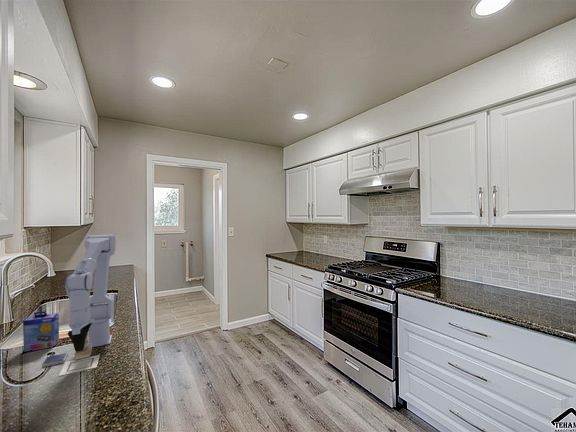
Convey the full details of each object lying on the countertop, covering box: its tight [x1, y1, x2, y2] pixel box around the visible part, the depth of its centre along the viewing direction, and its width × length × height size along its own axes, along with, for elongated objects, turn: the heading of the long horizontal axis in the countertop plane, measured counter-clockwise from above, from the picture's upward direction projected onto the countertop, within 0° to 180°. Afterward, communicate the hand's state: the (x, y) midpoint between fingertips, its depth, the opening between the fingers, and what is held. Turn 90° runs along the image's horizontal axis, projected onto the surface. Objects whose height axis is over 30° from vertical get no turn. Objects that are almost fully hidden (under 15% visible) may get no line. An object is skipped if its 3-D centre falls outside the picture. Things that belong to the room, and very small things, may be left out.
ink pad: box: [41, 352, 69, 368], centre depth 99 cm, size 6×6×1 cm
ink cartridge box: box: [22, 310, 60, 353], centre depth 111 cm, size 10×6×14 cm, turn 113°
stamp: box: [74, 334, 93, 361], centre depth 96 cm, size 4×4×9 cm
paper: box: [58, 354, 101, 377], centre depth 96 cm, size 10×10×1 cm
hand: (80, 348), depth 96 cm, fingers closed on stamp, 3 cm apart
